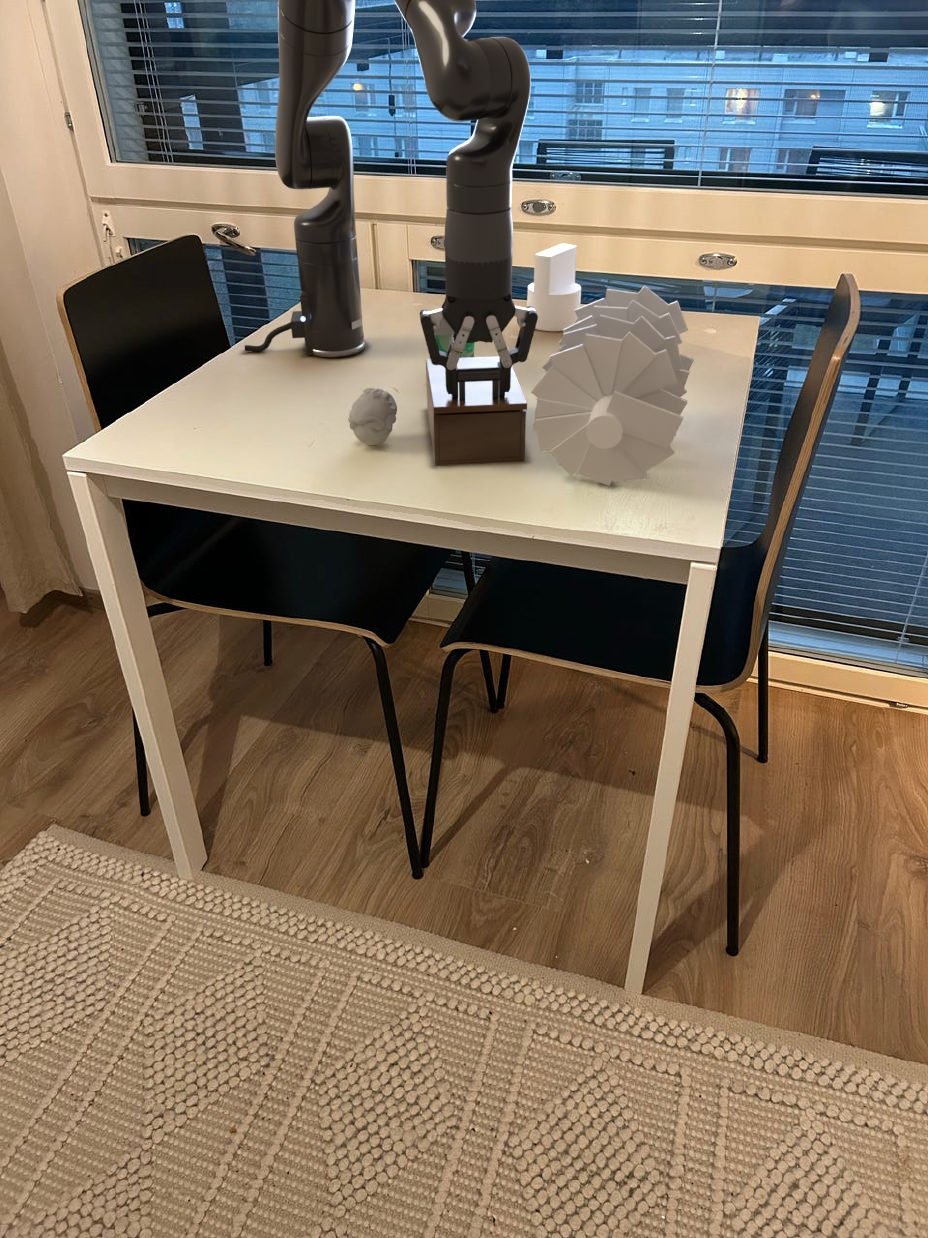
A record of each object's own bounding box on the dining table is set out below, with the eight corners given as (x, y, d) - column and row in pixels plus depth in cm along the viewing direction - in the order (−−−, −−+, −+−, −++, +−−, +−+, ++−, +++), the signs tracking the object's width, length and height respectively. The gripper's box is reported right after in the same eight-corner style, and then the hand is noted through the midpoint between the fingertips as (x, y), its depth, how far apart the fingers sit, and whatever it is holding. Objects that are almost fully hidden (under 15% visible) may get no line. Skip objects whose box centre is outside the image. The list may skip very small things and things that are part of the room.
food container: (471, 391, 135) (471, 322, 129) (430, 388, 136) (428, 320, 130) (487, 362, 145) (487, 296, 139) (448, 359, 146) (447, 294, 140)
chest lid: (527, 409, 111) (528, 372, 109) (433, 413, 111) (432, 375, 108) (508, 361, 126) (508, 327, 124) (425, 364, 125) (424, 330, 123)
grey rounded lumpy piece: (408, 437, 122) (406, 386, 118) (378, 457, 117) (374, 405, 113) (371, 428, 125) (367, 378, 121) (339, 447, 120) (334, 395, 116)
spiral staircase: (560, 519, 112) (588, 426, 131) (704, 476, 104) (711, 384, 123) (496, 385, 103) (536, 306, 122) (647, 327, 96) (665, 253, 115)
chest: (524, 461, 116) (526, 411, 112) (434, 465, 115) (433, 415, 112) (507, 407, 130) (508, 361, 126) (427, 411, 129) (425, 364, 126)
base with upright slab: (544, 311, 166) (547, 240, 159) (588, 320, 161) (593, 247, 154) (516, 324, 160) (518, 251, 153) (561, 334, 155) (565, 259, 148)
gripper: (415, 261, 100) (420, 410, 110) (548, 257, 101) (541, 405, 111) (412, 242, 106) (417, 385, 116) (537, 239, 107) (531, 381, 117)
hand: (478, 394), depth 113 cm, fingers closed on chest lid, 5 cm apart
